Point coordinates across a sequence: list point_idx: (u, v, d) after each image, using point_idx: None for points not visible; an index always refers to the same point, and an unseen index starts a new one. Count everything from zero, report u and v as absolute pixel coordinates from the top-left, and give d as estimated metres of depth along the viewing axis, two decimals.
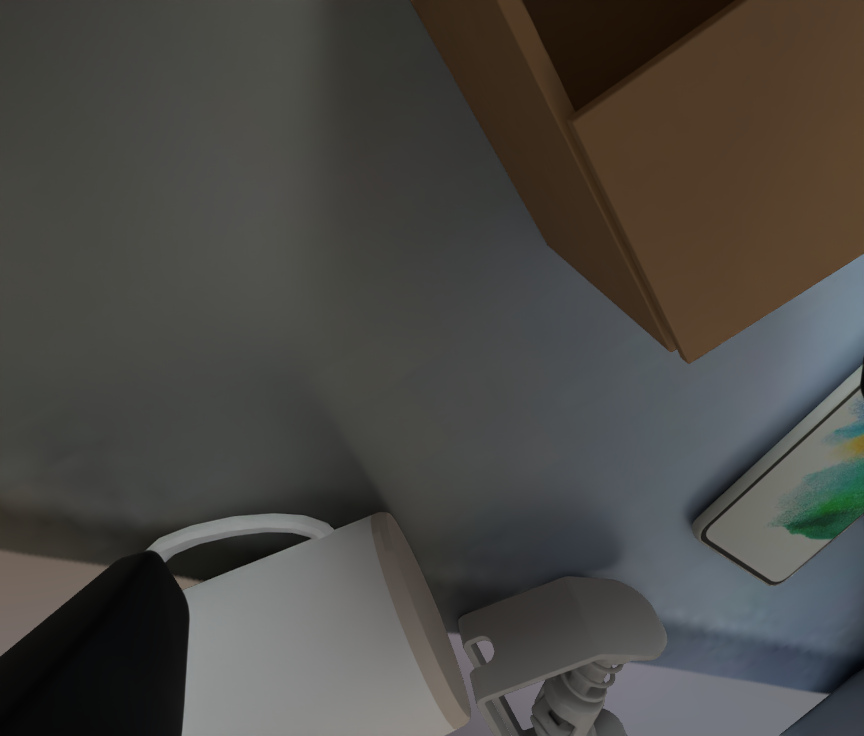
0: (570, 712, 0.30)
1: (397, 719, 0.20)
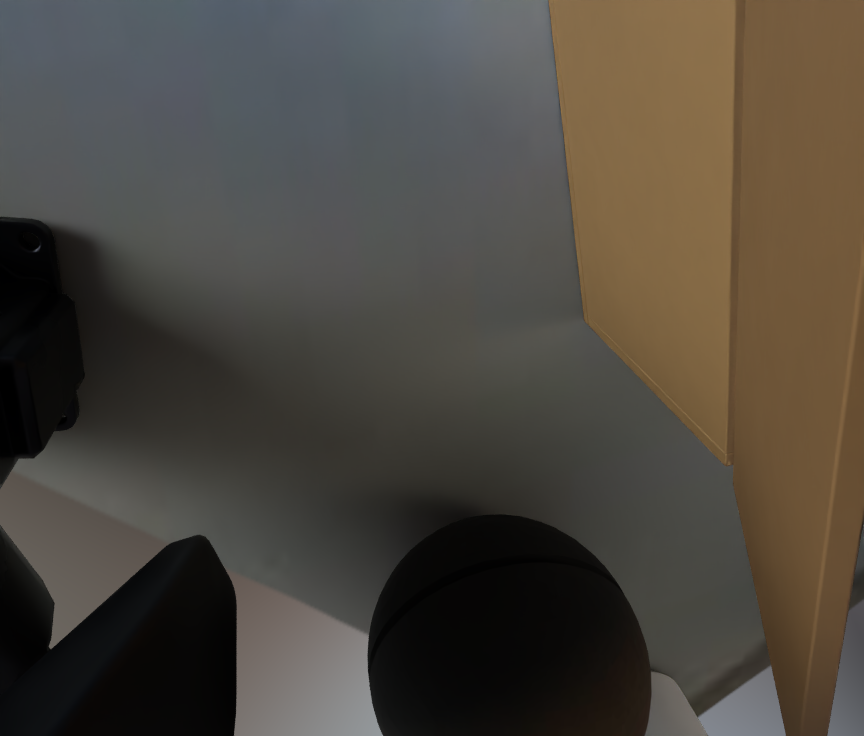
0: None
1: None
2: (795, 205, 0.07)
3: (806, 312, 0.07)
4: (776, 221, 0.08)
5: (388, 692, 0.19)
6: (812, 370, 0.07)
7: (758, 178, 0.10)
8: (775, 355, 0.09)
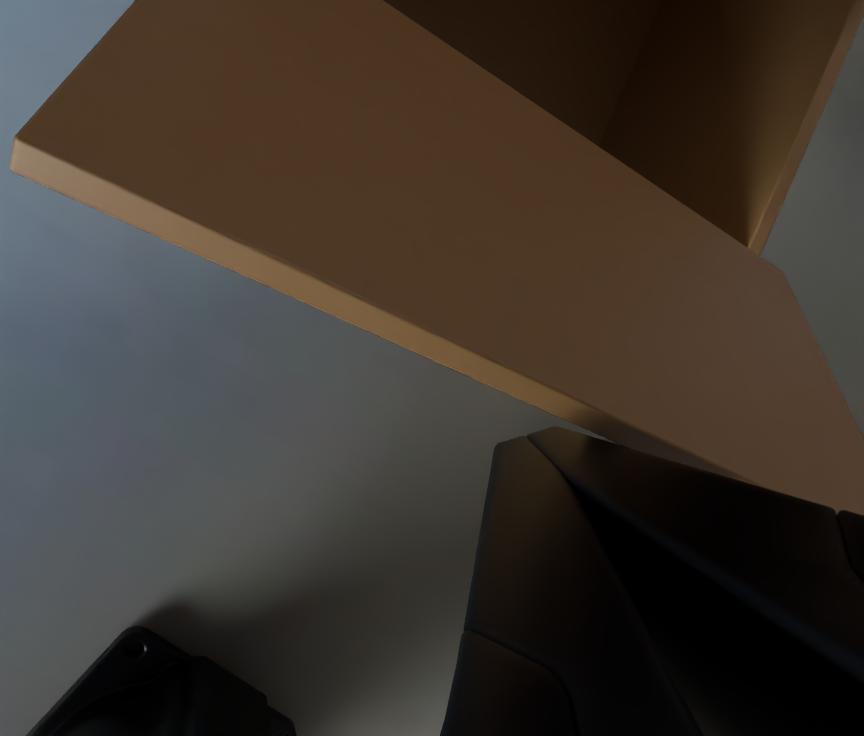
0: None
1: None
2: None
3: None
4: None
5: None
6: None
7: None
8: None
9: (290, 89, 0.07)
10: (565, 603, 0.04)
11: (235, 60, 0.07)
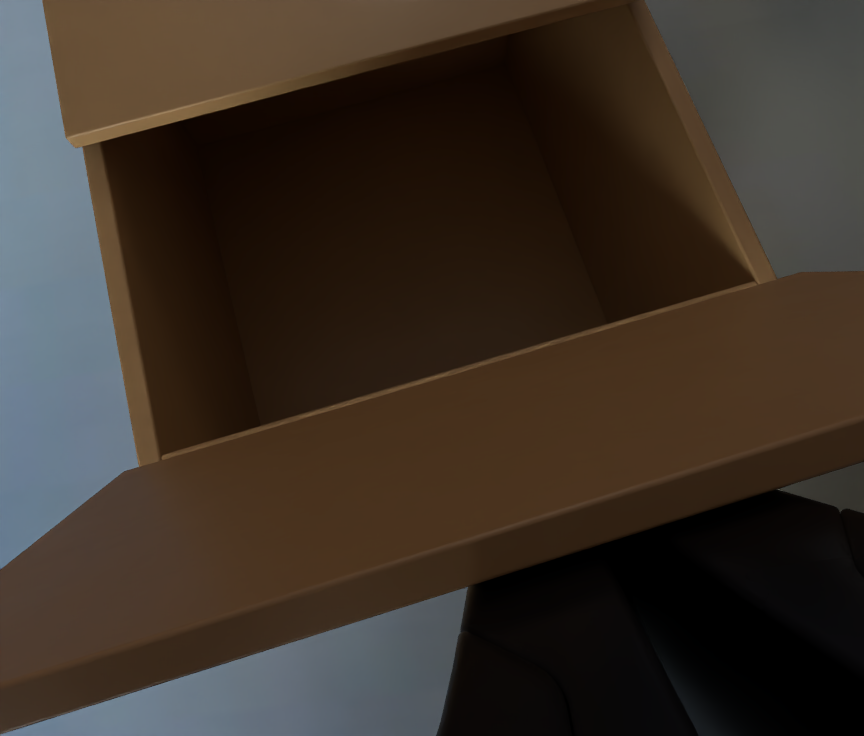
0: None
1: None
2: None
3: None
4: None
5: None
6: None
7: None
8: None
9: (144, 530, 0.07)
10: (562, 604, 0.04)
11: (85, 550, 0.07)
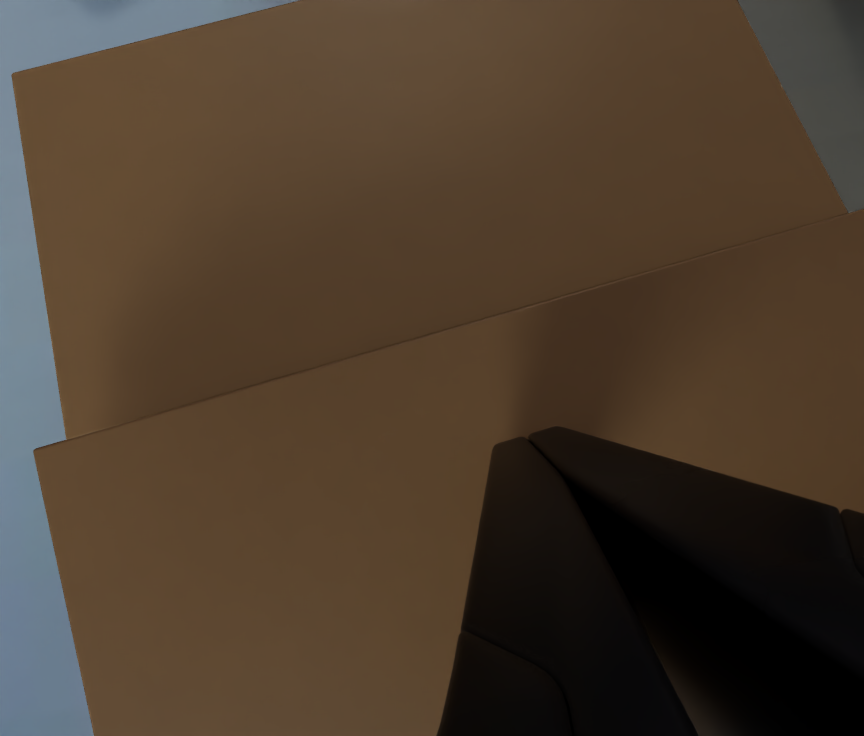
0: None
1: None
2: (375, 543, 0.08)
3: (428, 454, 0.08)
4: (439, 604, 0.08)
5: None
6: (457, 411, 0.08)
7: None
8: None
9: (217, 608, 0.08)
10: (562, 604, 0.04)
11: None
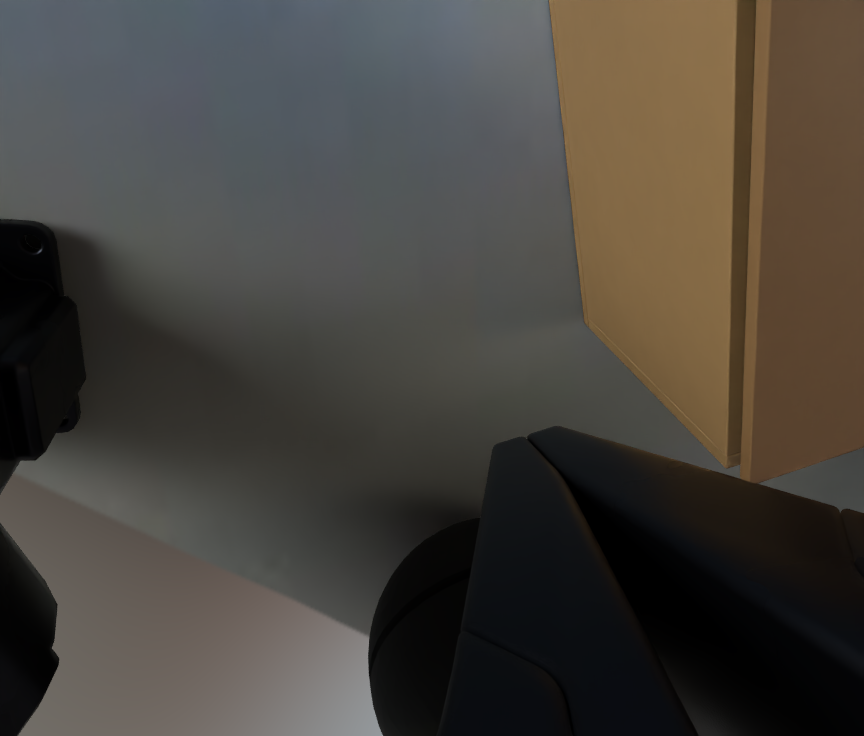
0: None
1: None
2: None
3: None
4: None
5: (389, 694, 0.19)
6: None
7: (848, 126, 0.11)
8: None
9: None
10: (562, 604, 0.04)
11: None
